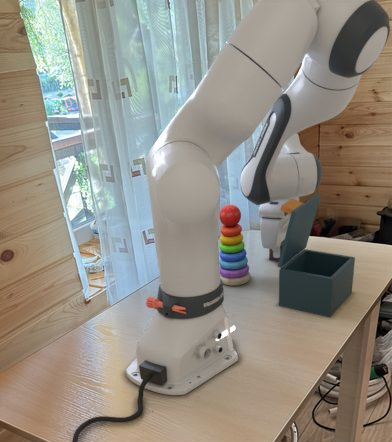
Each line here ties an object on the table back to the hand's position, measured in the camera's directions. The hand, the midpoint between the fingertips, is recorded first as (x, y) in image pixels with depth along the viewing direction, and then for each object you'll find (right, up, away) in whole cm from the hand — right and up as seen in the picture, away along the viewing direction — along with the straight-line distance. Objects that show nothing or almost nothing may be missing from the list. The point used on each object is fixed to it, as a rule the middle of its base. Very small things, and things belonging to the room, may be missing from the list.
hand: (280, 252), depth 136 cm
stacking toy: (-13, -9, -8) cm, 18 cm away
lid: (0, 0, -27) cm, 27 cm away
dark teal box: (+5, -14, -20) cm, 25 cm away
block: (0, -1, +1) cm, 2 cm away
